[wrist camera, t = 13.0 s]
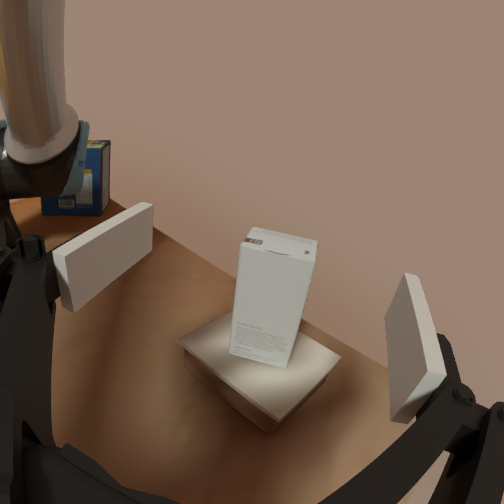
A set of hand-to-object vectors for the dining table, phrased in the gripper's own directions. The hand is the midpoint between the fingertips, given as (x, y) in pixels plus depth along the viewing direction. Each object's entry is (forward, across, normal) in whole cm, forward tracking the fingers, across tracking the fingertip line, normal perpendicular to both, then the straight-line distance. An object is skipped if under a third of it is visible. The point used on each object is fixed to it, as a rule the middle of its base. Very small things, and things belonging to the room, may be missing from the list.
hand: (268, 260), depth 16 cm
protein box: (+37, -52, -21) cm, 68 cm away
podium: (+10, 0, -19) cm, 22 cm away
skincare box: (+10, 0, -16) cm, 18 cm away
